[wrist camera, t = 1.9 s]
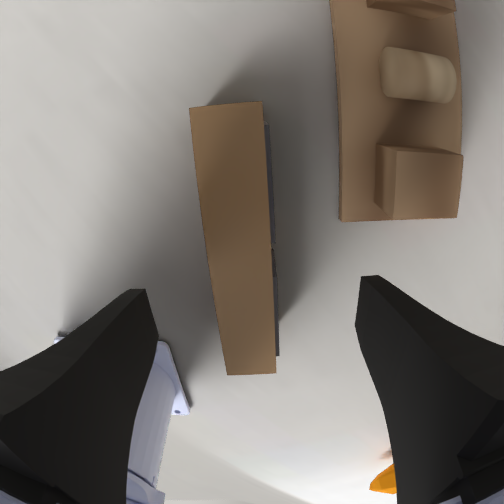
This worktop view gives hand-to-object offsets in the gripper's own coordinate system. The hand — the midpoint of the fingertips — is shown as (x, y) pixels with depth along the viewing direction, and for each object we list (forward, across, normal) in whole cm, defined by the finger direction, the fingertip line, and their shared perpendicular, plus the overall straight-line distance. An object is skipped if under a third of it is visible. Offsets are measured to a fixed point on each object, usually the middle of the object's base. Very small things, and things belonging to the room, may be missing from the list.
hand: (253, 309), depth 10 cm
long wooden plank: (+7, +1, 0) cm, 7 cm away
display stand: (+7, -8, -8) cm, 13 cm away
